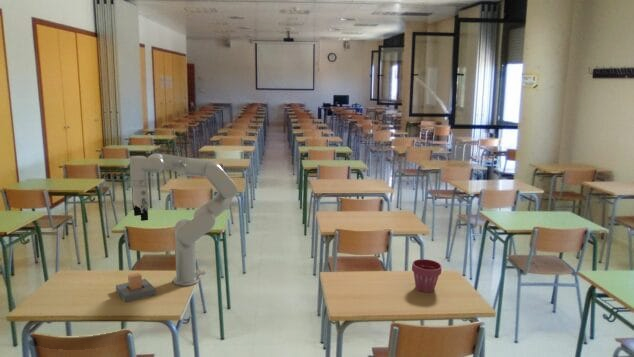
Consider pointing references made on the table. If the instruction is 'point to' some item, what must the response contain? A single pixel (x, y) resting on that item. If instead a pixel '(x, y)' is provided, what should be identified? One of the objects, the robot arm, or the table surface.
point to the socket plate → (135, 291)
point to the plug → (135, 281)
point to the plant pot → (426, 274)
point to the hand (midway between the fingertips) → (141, 217)
